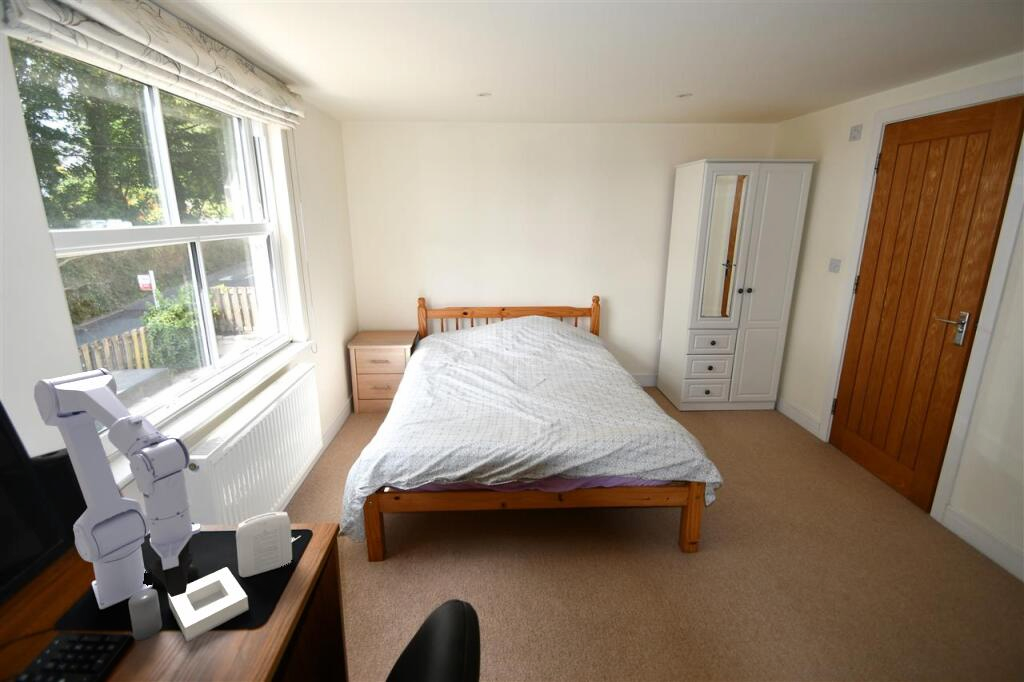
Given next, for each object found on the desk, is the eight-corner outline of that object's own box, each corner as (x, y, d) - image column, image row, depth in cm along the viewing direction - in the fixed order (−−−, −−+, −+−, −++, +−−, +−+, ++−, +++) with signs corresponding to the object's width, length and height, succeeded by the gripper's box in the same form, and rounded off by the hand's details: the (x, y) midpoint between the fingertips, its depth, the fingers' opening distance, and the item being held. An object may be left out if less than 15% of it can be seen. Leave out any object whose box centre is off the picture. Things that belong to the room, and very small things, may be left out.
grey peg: (131, 630, 83) (126, 597, 81) (158, 617, 86) (154, 585, 84) (136, 644, 80) (131, 610, 78) (164, 630, 83) (159, 597, 81)
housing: (169, 606, 88) (167, 593, 87) (228, 579, 95) (226, 566, 95) (187, 641, 81) (185, 627, 80) (248, 609, 88) (247, 596, 88)
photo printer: (291, 552, 104) (288, 503, 101) (294, 564, 101) (291, 514, 98) (238, 568, 98) (233, 517, 96) (239, 581, 95) (234, 529, 92)
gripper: (196, 524, 74) (206, 597, 77) (197, 484, 86) (206, 549, 89) (140, 539, 70) (153, 615, 73) (149, 495, 82) (161, 562, 85)
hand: (179, 579), depth 81 cm, fingers open, 7 cm apart
